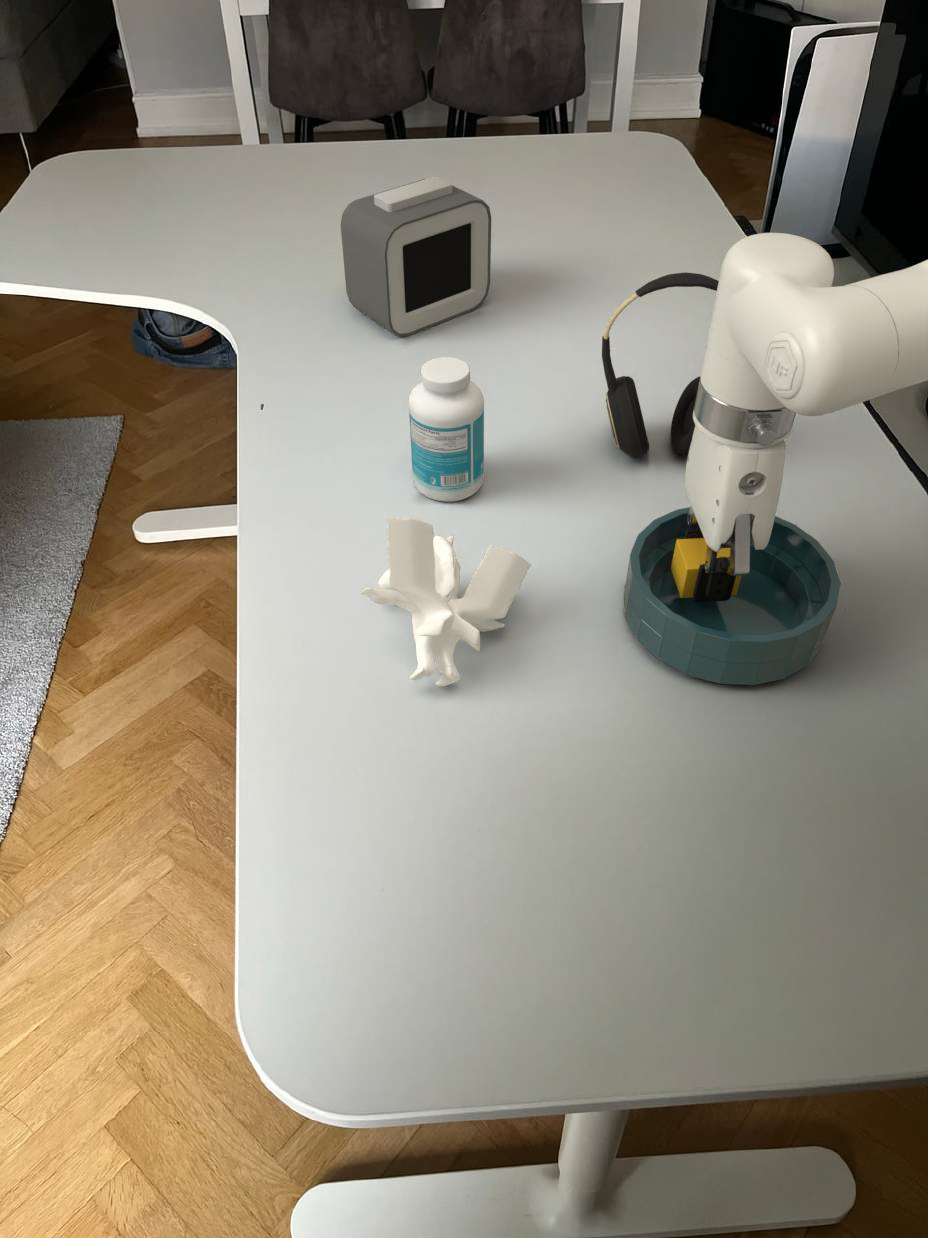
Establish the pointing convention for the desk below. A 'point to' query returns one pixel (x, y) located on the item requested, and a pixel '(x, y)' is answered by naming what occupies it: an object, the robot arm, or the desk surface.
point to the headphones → (623, 390)
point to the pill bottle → (447, 431)
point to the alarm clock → (417, 254)
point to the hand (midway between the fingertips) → (704, 579)
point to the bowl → (733, 607)
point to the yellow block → (693, 564)
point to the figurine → (444, 593)
